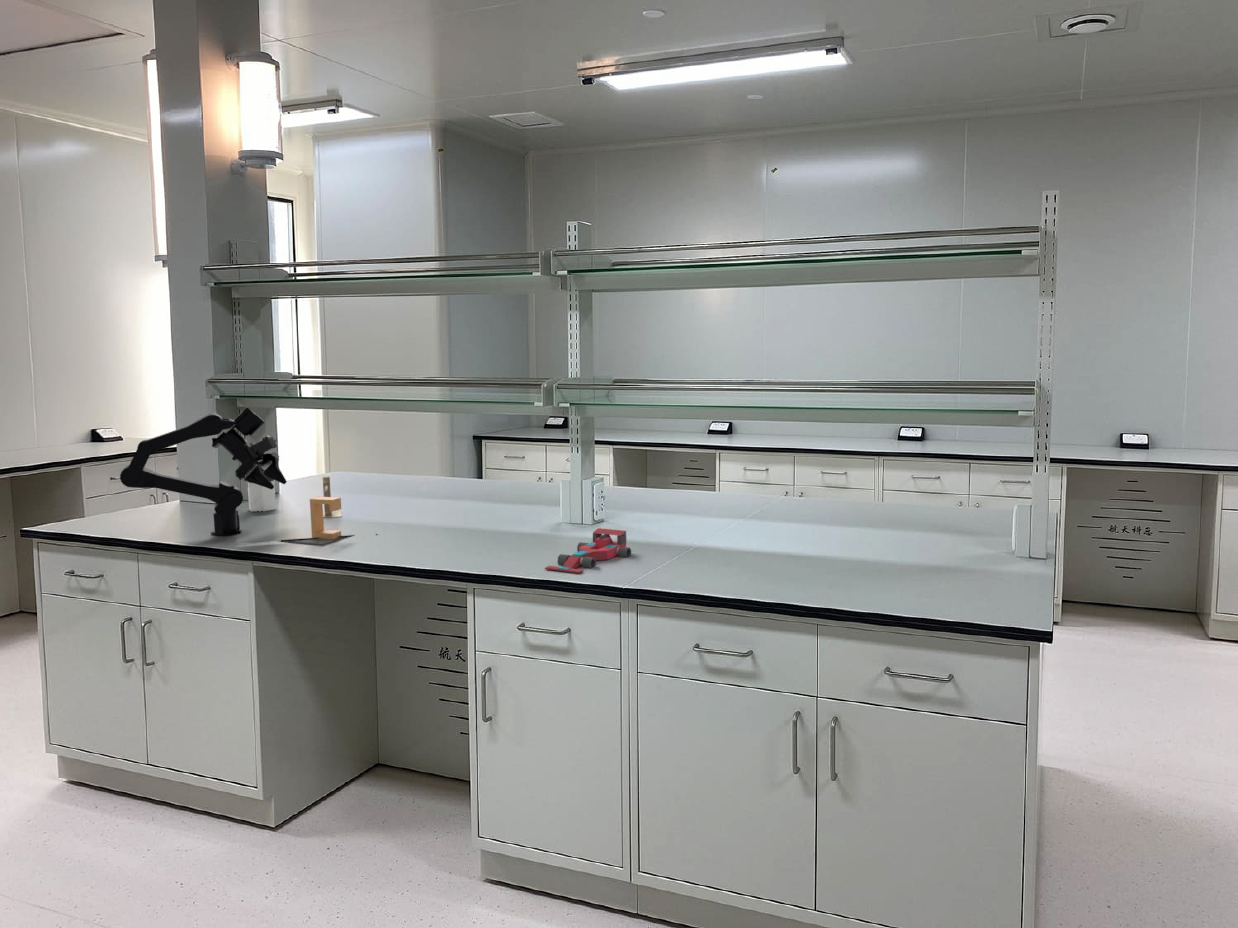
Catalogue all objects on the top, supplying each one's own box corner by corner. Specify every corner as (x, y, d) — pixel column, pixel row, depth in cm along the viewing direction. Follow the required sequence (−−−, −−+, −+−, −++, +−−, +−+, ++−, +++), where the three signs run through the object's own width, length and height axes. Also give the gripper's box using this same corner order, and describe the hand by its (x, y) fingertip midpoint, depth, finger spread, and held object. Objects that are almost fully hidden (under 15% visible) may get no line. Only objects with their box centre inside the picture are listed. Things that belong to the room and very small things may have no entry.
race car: (535, 546, 232) (588, 527, 254) (536, 570, 233) (588, 549, 254) (586, 552, 225) (636, 531, 247) (587, 577, 226) (636, 555, 248)
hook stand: (313, 529, 284) (310, 485, 282) (315, 517, 303) (312, 475, 301) (341, 527, 286) (339, 483, 284) (342, 515, 305) (339, 474, 303)
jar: (243, 511, 314) (240, 475, 313) (255, 507, 323) (252, 471, 321) (270, 511, 314) (267, 475, 312) (281, 507, 322) (278, 471, 320)
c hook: (312, 538, 269) (309, 499, 268) (320, 535, 273) (318, 496, 272) (334, 539, 267) (332, 500, 266) (342, 536, 271) (340, 497, 269)
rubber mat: (322, 545, 262) (322, 543, 262) (281, 542, 267) (281, 540, 267) (355, 535, 275) (355, 533, 275) (315, 532, 280) (315, 530, 280)
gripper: (243, 431, 268) (285, 470, 269) (270, 424, 286) (309, 461, 287) (217, 459, 269) (259, 498, 270) (245, 451, 287) (284, 487, 288)
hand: (279, 485), depth 279 cm, fingers open, 9 cm apart
